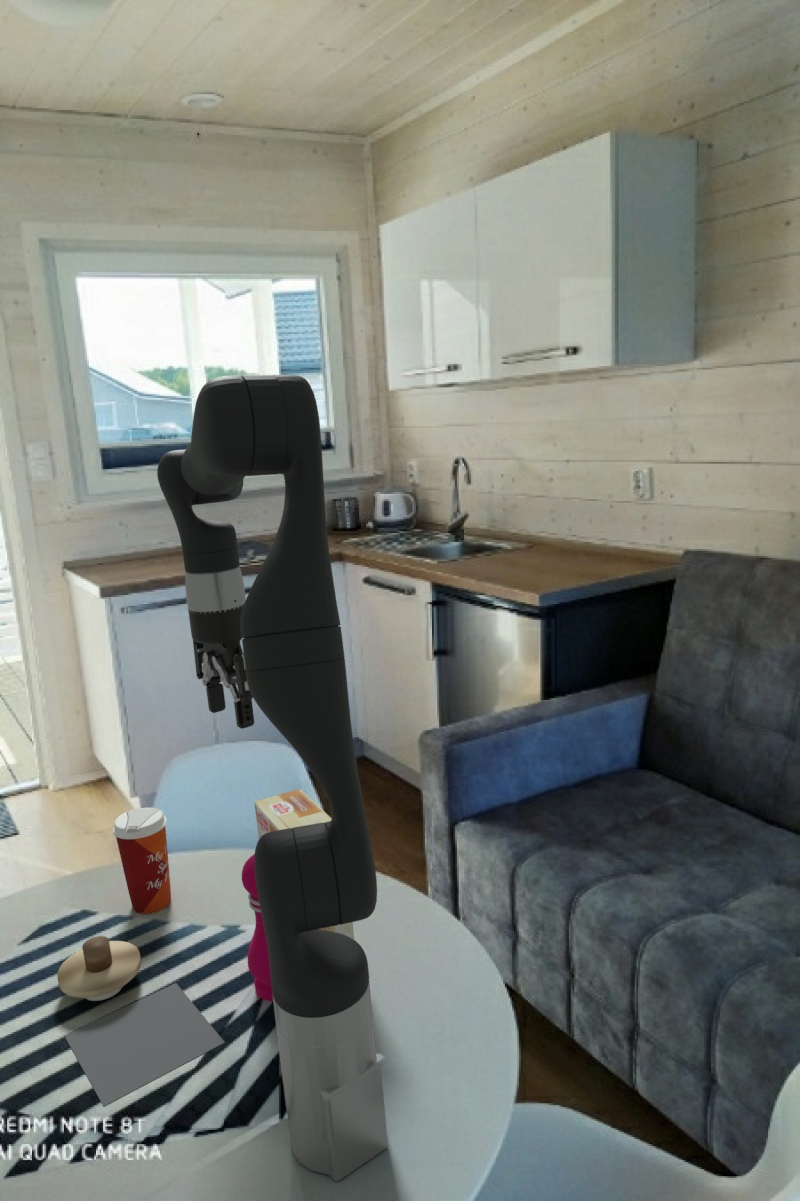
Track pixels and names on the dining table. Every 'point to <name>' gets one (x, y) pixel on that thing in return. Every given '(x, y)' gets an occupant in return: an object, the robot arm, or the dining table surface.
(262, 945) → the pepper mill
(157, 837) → the paper cup
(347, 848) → the robot arm
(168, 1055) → the mat
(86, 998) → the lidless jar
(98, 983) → the lid
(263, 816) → the coffeecake box
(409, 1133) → the dining table surface
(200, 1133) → the dining table surface
